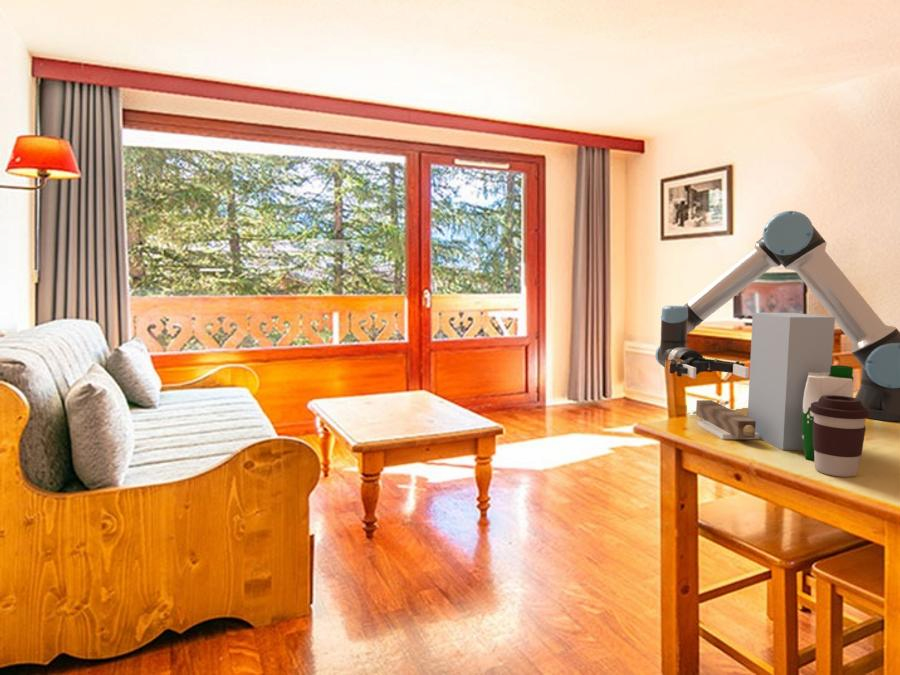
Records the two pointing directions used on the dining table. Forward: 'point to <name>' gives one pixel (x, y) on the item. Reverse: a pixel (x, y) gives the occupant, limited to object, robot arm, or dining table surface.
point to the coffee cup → (838, 434)
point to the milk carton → (819, 386)
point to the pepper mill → (726, 419)
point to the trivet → (721, 431)
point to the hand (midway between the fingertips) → (720, 373)
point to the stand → (785, 371)
